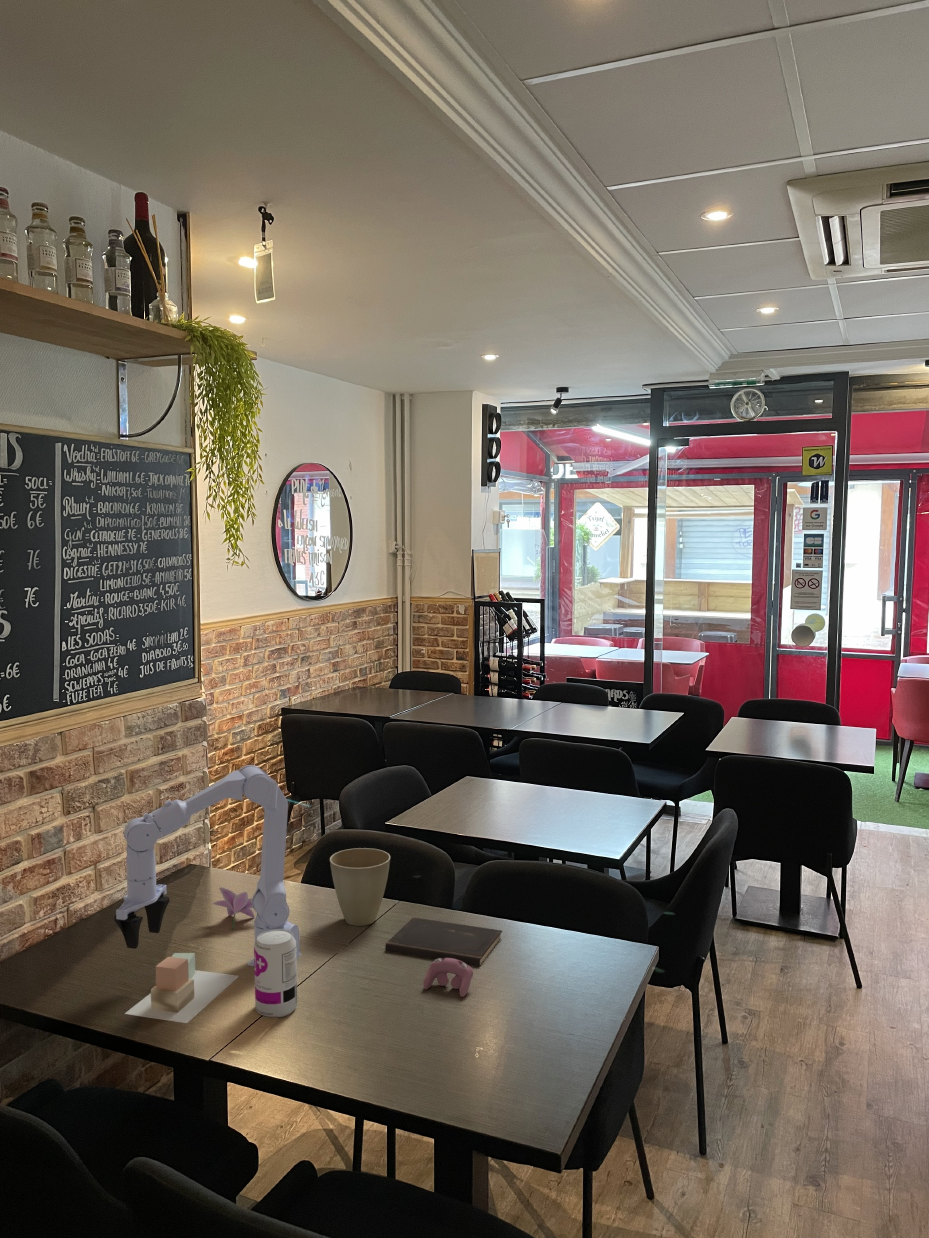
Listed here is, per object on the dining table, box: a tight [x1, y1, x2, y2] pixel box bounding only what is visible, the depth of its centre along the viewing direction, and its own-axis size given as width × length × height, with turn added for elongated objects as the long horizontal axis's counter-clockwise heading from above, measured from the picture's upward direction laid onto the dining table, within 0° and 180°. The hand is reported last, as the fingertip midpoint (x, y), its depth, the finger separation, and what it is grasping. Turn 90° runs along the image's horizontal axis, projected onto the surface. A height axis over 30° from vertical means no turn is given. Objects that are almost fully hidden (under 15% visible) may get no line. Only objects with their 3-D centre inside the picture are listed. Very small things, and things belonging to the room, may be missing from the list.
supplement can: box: [253, 929, 298, 1019], centre depth 179 cm, size 8×8×15 cm
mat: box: [124, 969, 240, 1024], centre depth 185 cm, size 14×20×1 cm
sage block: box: [171, 952, 196, 979], centre depth 192 cm, size 4×4×4 cm
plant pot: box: [329, 847, 391, 927], centre depth 223 cm, size 15×15×16 cm
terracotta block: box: [155, 956, 189, 991], centre depth 181 cm, size 4×4×4 cm
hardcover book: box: [384, 917, 503, 968], centre depth 209 cm, size 16×23×2 cm
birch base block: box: [150, 979, 194, 1013], centre depth 181 cm, size 6×6×4 cm
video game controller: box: [423, 958, 474, 998], centre depth 188 cm, size 10×5×7 cm, turn 66°
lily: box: [212, 886, 255, 930], centre depth 221 cm, size 12×12×10 cm
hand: (143, 939), depth 188 cm, fingers open, 7 cm apart
